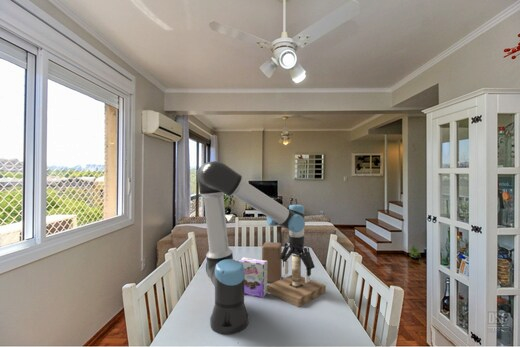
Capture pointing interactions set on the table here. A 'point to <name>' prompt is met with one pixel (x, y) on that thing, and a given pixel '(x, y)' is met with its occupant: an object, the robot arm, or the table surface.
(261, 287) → the candy box
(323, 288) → the board
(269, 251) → the wooden block
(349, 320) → the table surface
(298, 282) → the peg
